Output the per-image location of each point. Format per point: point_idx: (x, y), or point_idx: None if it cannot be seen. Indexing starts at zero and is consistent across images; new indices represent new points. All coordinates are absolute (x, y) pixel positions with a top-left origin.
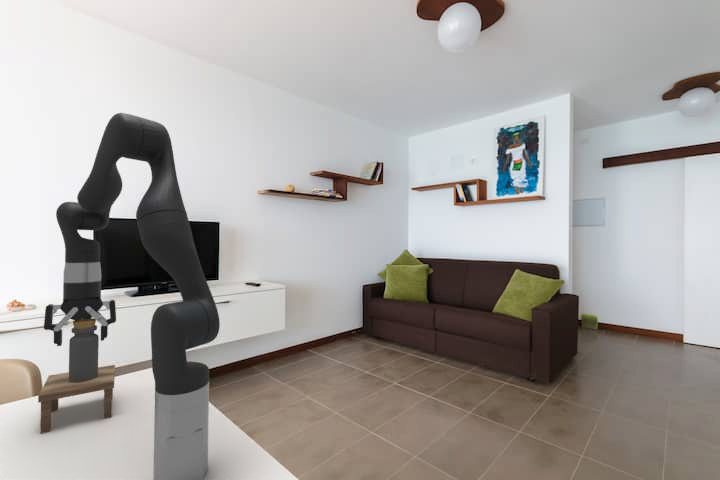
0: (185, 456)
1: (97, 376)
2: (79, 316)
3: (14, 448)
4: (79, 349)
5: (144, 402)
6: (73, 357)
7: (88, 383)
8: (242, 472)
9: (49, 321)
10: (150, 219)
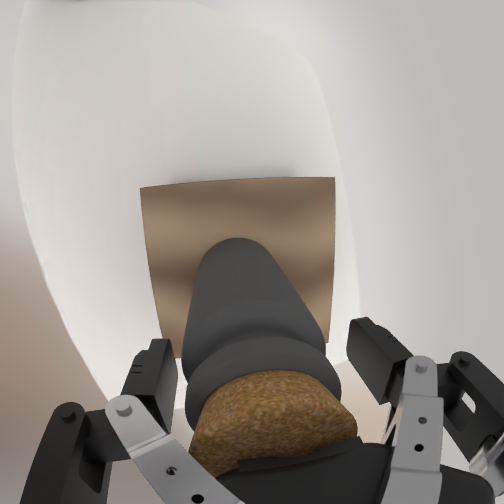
0: None
1: (197, 270)
2: (330, 471)
3: (325, 142)
4: (263, 277)
5: (109, 237)
6: (281, 273)
7: (214, 211)
8: None
9: (481, 384)
10: None
